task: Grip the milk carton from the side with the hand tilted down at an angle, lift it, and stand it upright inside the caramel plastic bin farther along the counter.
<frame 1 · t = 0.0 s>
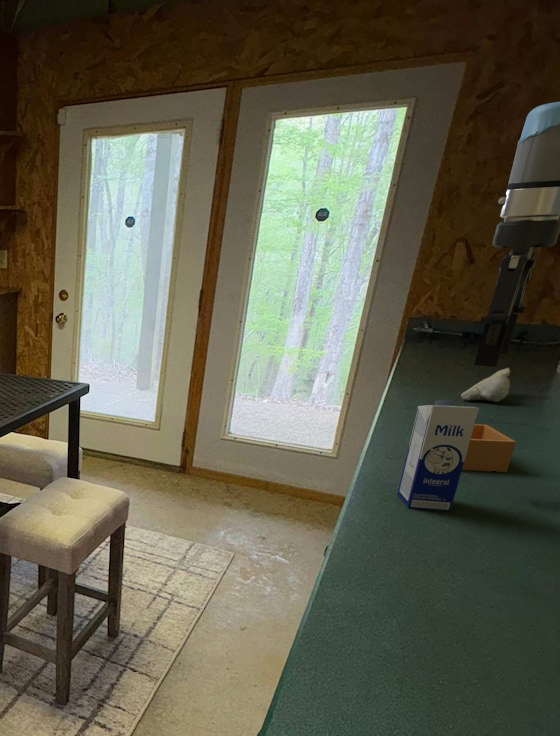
hand: (491, 359, 103), 29 cm above the kitchen counter, tool pointing down, fingers open, 13 cm apart
bin: (458, 460, 139), on the kitchen counter
milk carton: (422, 503, 119), on the kitchen counter
white lumpy piece: (484, 399, 185), on the kitchen counter
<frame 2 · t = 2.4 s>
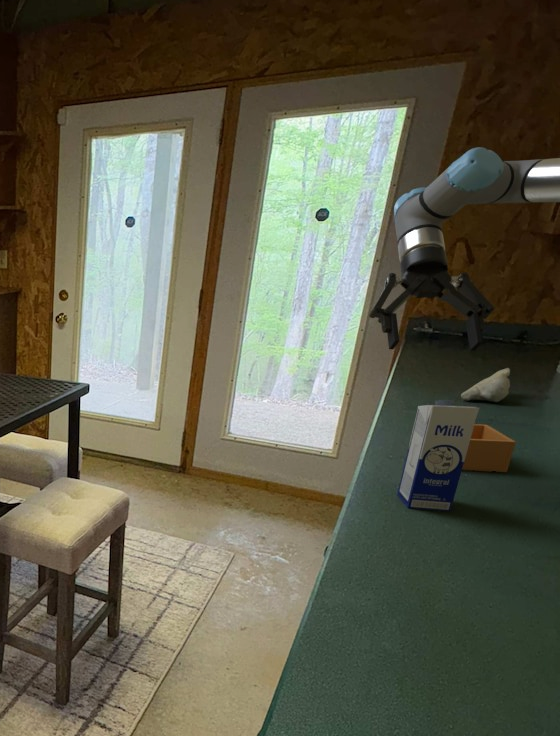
hand: (434, 346, 118), 28 cm above the kitchen counter, tool tilted 45°, fingers open, 13 cm apart
nothing on the kitchen counter moved.
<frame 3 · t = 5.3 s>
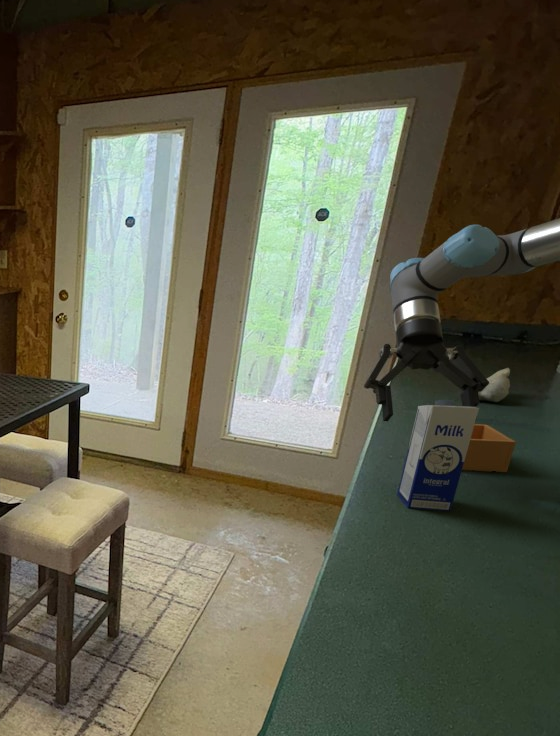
hand: (429, 419, 119), 15 cm above the kitchen counter, tool tilted 45°, fingers open, 13 cm apart
nothing on the kitchen counter moved.
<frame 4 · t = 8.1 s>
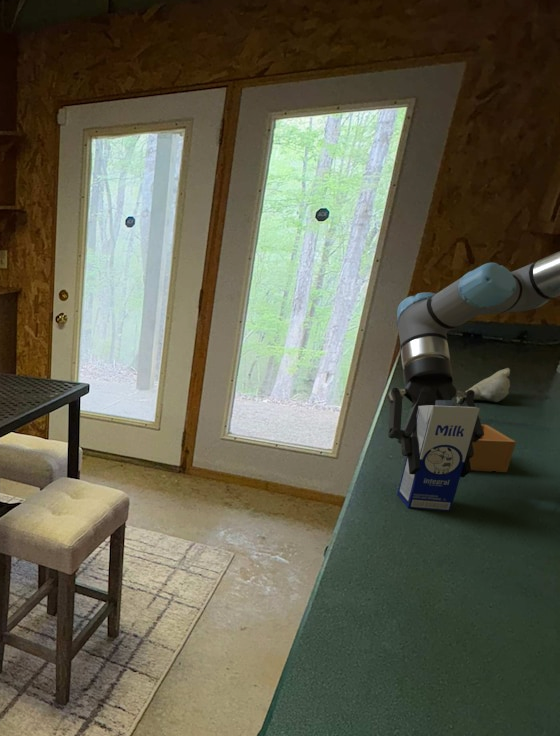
hand: (439, 472, 113), 8 cm above the kitchen counter, tool tilted 45°, fingers closed on milk carton, 7 cm apart
milk carton: (422, 503, 119), on the kitchen counter, touching gripper
everything else where it was.
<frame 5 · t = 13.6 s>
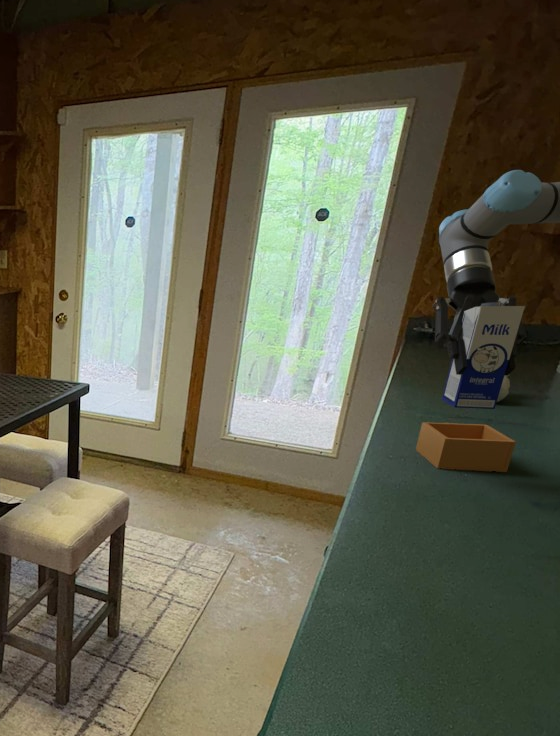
hand: (485, 371, 121), 23 cm above the kitchen counter, tool tilted 45°, fingers closed on milk carton, 7 cm apart
milk carton: (467, 405, 127), point 15 cm above the kitchen counter, touching gripper
everything else where it was.
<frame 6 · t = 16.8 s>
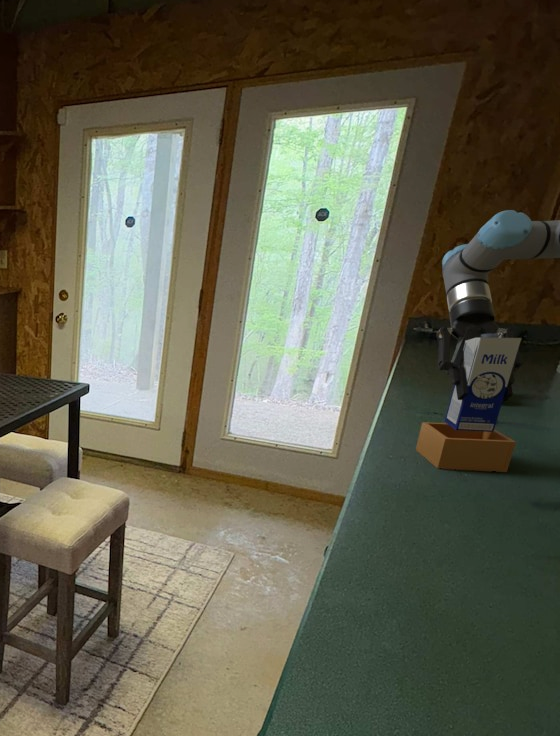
hand: (484, 397, 130), 15 cm above the kitchen counter, tool tilted 45°, fingers closed on milk carton, 7 cm apart
milk carton: (467, 427, 136), point 8 cm above the kitchen counter, touching gripper
everything else where it was.
when the fingers open (8 cm above the kitchen counter, at t = 19.1 s): milk carton stays where it is, resting on bin.
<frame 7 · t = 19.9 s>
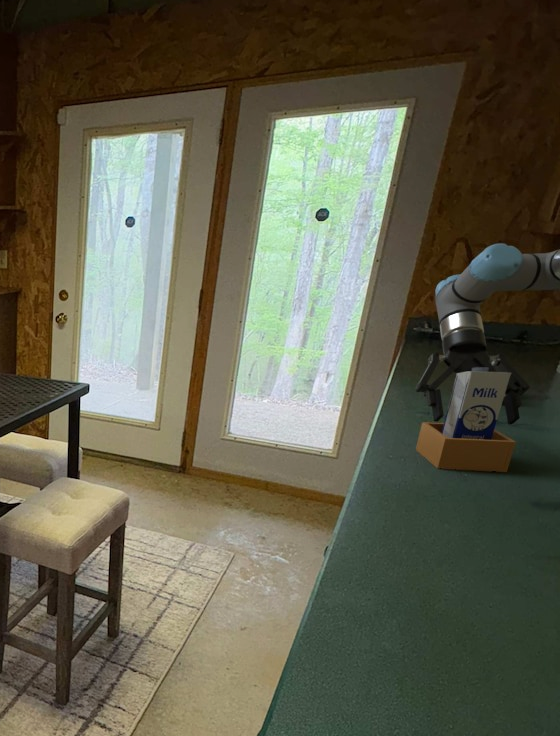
hand: (475, 420, 133), 10 cm above the kitchen counter, tool tilted 45°, fingers open, 13 cm apart
milk carton: (459, 457, 139), point 1 cm above the kitchen counter, touching bin
everything else where it was.
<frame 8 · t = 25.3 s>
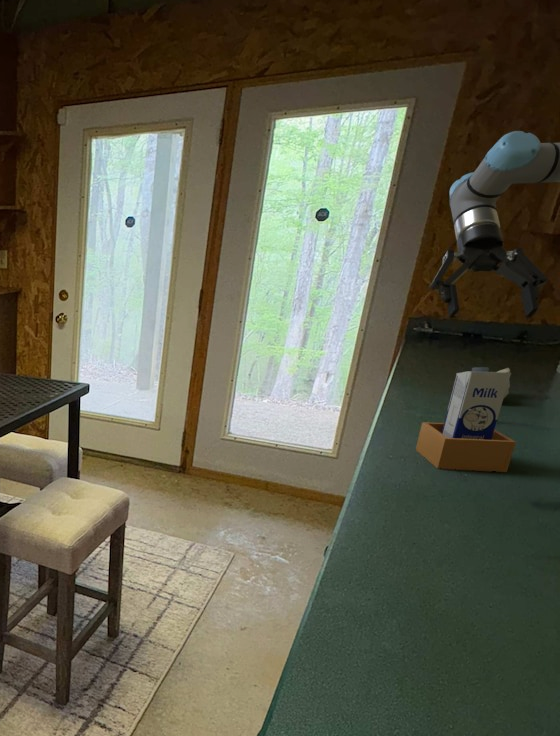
hand: (492, 313, 130), 32 cm above the kitchen counter, tool tilted 45°, fingers open, 13 cm apart
nothing on the kitchen counter moved.
at the end: milk carton inside the target area in the bin (0.1 cm from its centre), point 0.6 cm above the bin's base; milk carton tilted 0°; the gripper is holding nothing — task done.
